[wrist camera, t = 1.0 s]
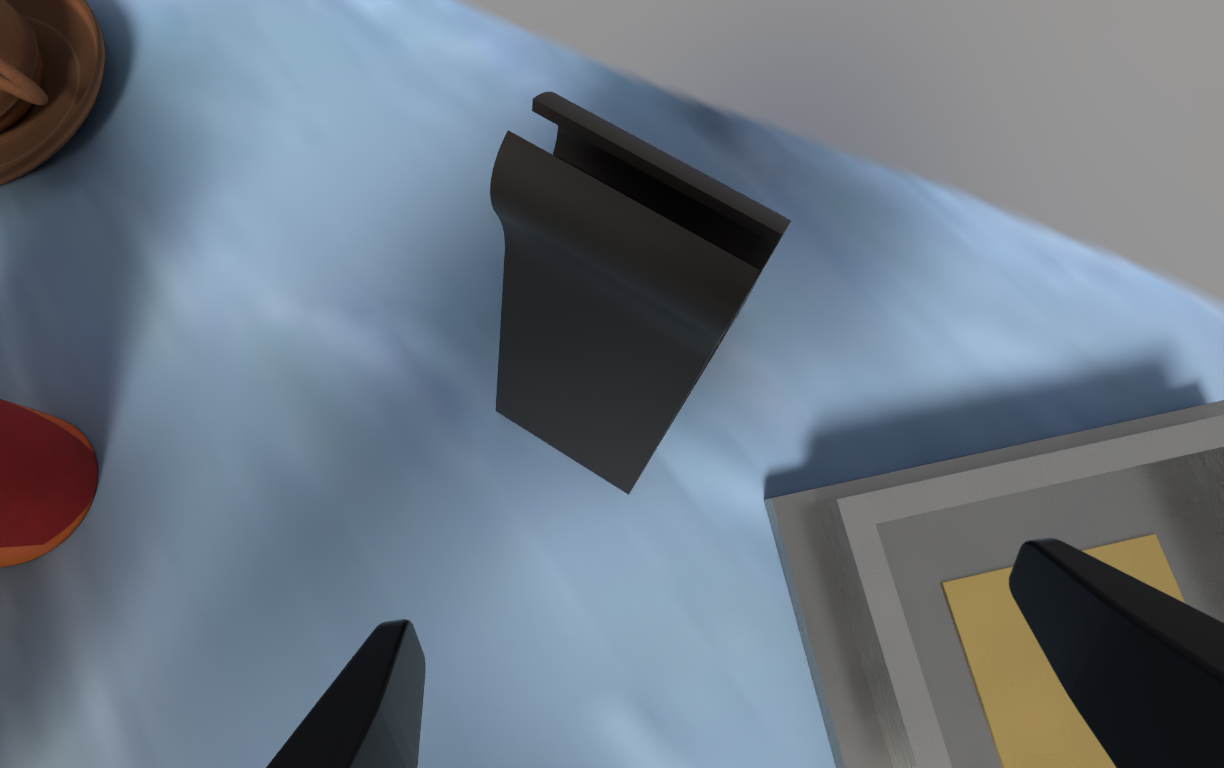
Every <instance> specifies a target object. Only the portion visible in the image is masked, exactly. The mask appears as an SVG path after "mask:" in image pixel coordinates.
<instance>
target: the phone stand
mask: <svg viewBox="0 0 1224 768" xmlns="http://www.w3.org/2000/svg"><path fill="white" fill-rule="evenodd" d="M532 111H533V112H535V113H537V114H539V115H541V116H542V117H544V118H546V119H548V120H550V121H552V122H553V123H555V124H557V125H558V134H557V140H556V145H555V149H554V152H553V155H552V154H550V153H548V152H546V151H544V150H543V149H541V148H539V147H537V146H535V145H534V144H532V143H530V142H528V141H526V140H525V139H523V138H521V137H519V136H517V135H516V134H514V133H512V132H510V131H508V132H507V134H506V136H505V138H504V140H503V142H502V144H501V147H500V149H499V152H498V154H497V157H496V161H495V164H494V168H493V172H492V178H491V187H490V196H491V203H492V207H493V209H494V211H495V212H496V214H497V215H498V217H499V219H500V221H501V223H502V226H503V230H504V236H505V258H504V276H503V293H502V311H501V328H500V346H499V363H498V381H497V398H496V411H497V412H498V413H500V414H502V415H503V416H505V417H506V418H508V419H510V420H511V421H513V422H514V423H516V424H517V425H519V426H521V427H522V428H524V429H525V430H527V431H529V432H530V433H532V434H533V435H535V436H537V437H538V438H540V439H541V440H543V441H544V442H546V443H548V444H549V445H551V446H552V447H554V448H556V449H557V450H559V451H560V452H562V453H564V454H565V455H567V456H568V457H570V458H571V459H573V460H575V461H576V462H578V463H579V464H581V465H583V466H584V467H586V468H587V469H589V470H591V471H592V472H594V473H595V474H597V475H598V476H600V477H602V478H603V479H605V480H606V481H608V482H610V483H611V484H613V485H614V486H616V487H618V488H619V489H621V490H622V491H624V492H625V493H627V494H629V493H630V492H631V490H632V488H633V487H634V485H635V483H636V482H637V480H638V478H639V477H640V475H641V473H642V472H643V470H644V468H645V467H646V465H647V464H648V462H649V460H650V459H651V457H652V455H653V454H654V452H655V450H656V449H657V447H658V445H659V444H660V442H661V440H662V439H663V437H664V435H665V434H666V432H667V431H668V429H669V427H670V426H671V424H672V422H673V421H674V419H675V417H676V416H677V414H678V412H679V411H680V409H681V407H682V406H683V404H684V403H685V401H686V399H687V398H688V396H689V394H690V393H691V391H692V389H693V388H694V386H695V384H696V383H697V381H698V379H699V378H700V376H701V374H702V373H703V371H704V370H705V368H706V366H707V365H708V363H709V361H710V360H711V358H712V356H713V355H714V353H715V351H716V350H717V348H718V346H719V345H720V343H721V341H722V340H723V338H724V337H725V335H726V333H727V332H728V330H729V328H730V327H731V325H732V323H733V322H734V320H735V318H736V317H737V315H738V313H739V312H740V310H741V308H742V307H743V305H744V303H745V302H746V300H747V298H748V296H749V294H750V292H751V291H752V289H753V287H754V285H755V283H756V281H757V279H758V278H759V276H760V274H761V272H762V270H763V268H764V267H765V265H766V263H767V261H768V260H769V258H770V256H771V254H772V253H773V251H774V249H775V248H776V246H777V244H778V243H779V241H780V239H781V237H782V236H783V234H784V232H785V231H786V229H787V227H788V225H789V224H790V222H791V220H789V219H787V218H785V217H783V216H782V215H780V214H778V213H776V212H774V211H772V210H771V209H769V208H767V207H765V206H763V205H761V204H759V203H758V202H756V201H754V200H752V199H750V198H748V197H746V196H745V195H743V194H741V193H739V192H737V191H735V190H733V189H732V188H730V187H728V186H726V185H724V184H722V183H720V182H719V181H717V180H715V179H713V178H711V177H709V176H707V175H706V174H704V173H702V172H700V171H698V170H696V169H694V168H693V167H691V166H689V165H687V164H685V163H683V162H682V161H680V160H678V159H676V158H674V157H672V156H670V155H669V154H667V153H665V152H663V151H661V150H659V149H657V148H656V147H654V146H652V145H650V144H648V143H646V142H644V141H643V140H641V139H639V138H637V137H635V136H633V135H631V134H630V133H628V132H626V131H624V130H622V129H620V128H618V127H617V126H615V125H613V124H611V123H609V122H607V121H605V120H604V119H602V118H600V117H598V116H596V115H594V114H593V113H591V112H589V111H587V110H585V109H583V108H581V107H580V106H578V105H576V104H574V103H572V102H570V101H568V100H567V99H565V98H563V97H561V96H559V95H557V94H555V93H553V92H545V93H542V94H540V95H538V96H536V97H535V98H534V99H533V106H532Z"/></svg>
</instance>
